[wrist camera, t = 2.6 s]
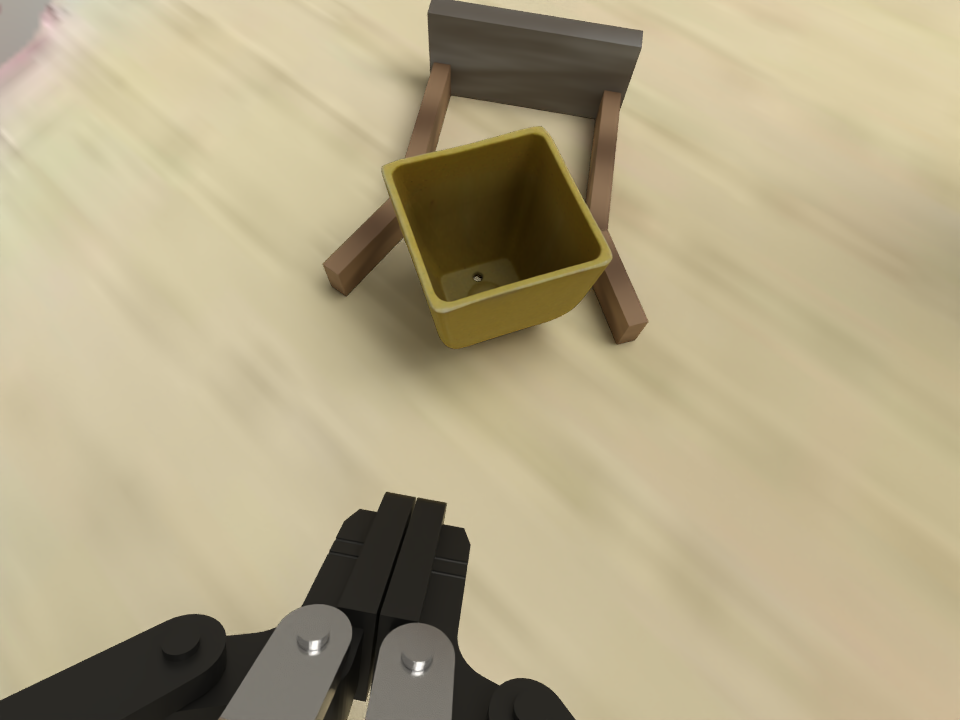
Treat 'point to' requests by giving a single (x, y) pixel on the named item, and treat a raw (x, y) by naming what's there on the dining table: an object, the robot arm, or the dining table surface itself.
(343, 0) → the dining table surface
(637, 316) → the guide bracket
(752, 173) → the dining table surface
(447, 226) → the flower pot
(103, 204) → the dining table surface
